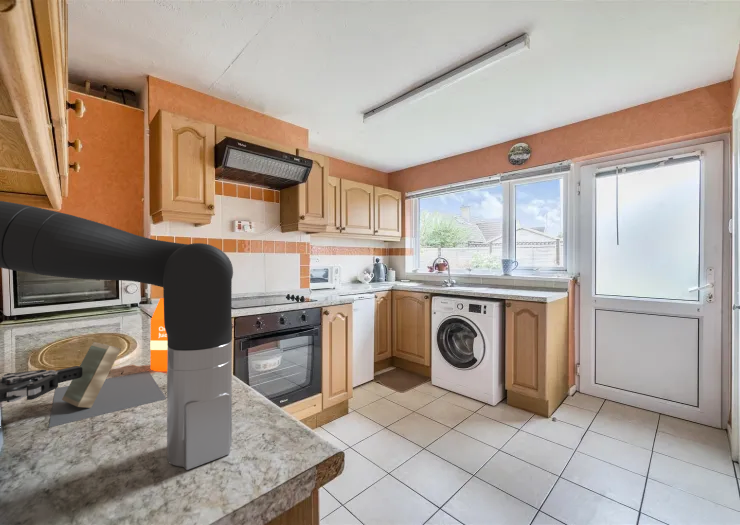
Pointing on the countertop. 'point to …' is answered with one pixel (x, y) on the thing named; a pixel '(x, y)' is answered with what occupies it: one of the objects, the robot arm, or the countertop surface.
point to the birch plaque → (91, 375)
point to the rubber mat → (108, 398)
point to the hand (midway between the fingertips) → (80, 371)
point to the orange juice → (158, 339)
